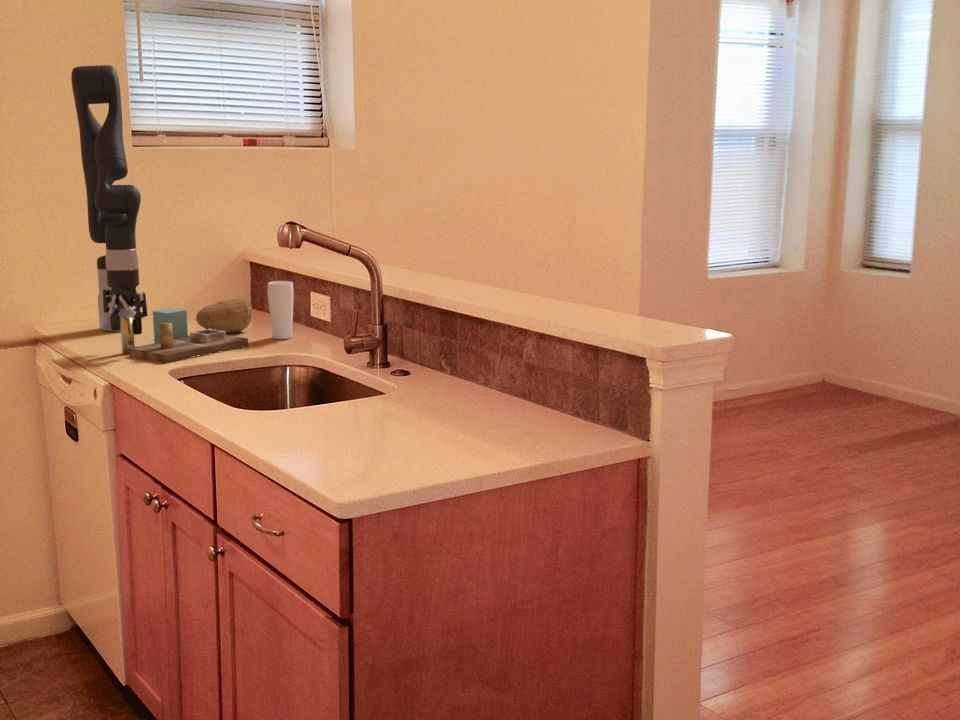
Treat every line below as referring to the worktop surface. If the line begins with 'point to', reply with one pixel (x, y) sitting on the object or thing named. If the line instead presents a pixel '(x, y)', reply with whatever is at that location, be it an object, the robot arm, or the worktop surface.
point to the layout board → (186, 345)
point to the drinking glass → (281, 308)
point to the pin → (126, 334)
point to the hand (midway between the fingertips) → (126, 332)
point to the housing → (174, 317)
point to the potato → (226, 315)
